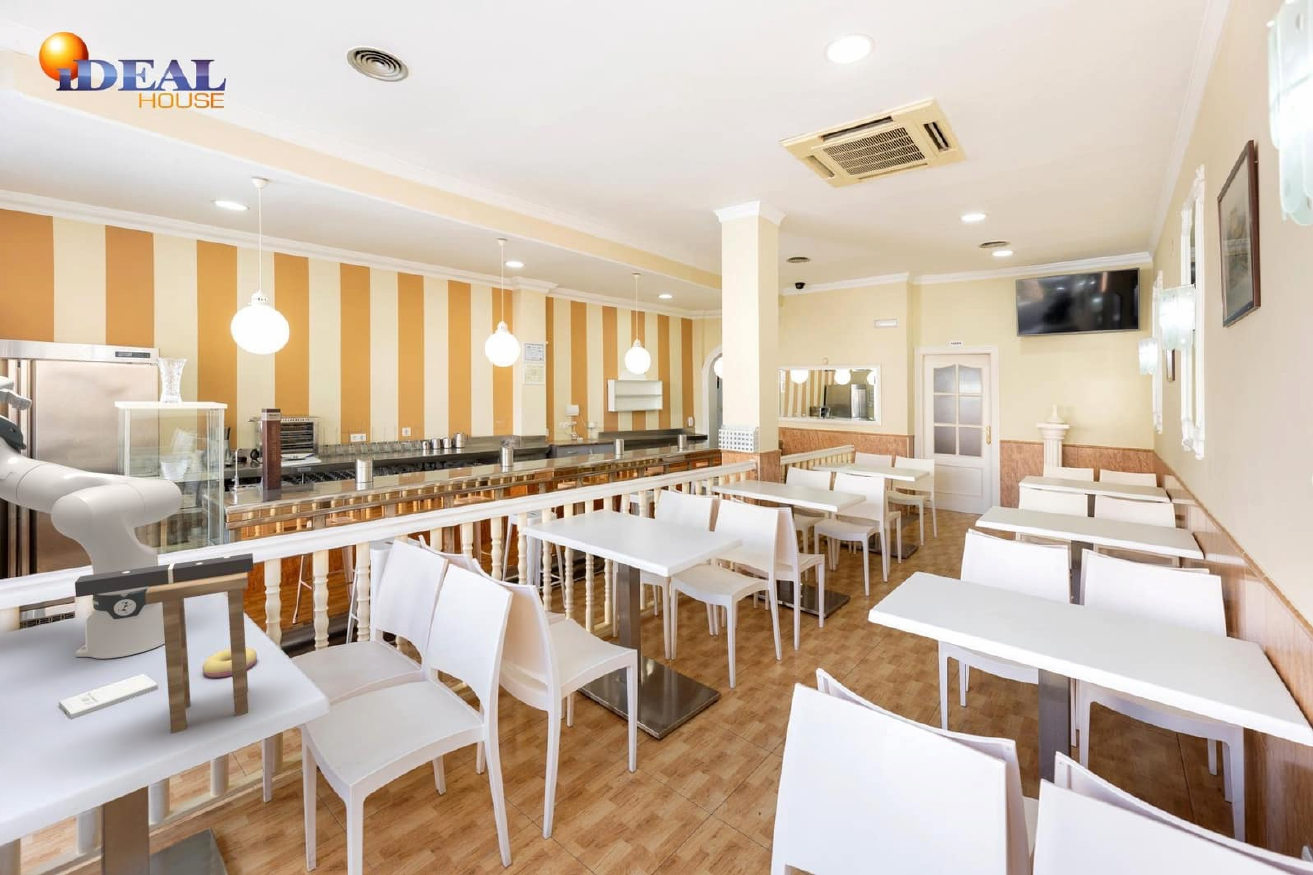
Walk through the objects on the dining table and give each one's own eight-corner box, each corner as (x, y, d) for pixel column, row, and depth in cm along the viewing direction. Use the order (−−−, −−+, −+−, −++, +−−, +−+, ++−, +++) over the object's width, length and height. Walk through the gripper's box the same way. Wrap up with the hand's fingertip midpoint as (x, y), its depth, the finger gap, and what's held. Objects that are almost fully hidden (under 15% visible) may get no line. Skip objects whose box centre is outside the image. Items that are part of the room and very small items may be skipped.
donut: (262, 666, 128) (216, 664, 126) (266, 645, 128) (220, 643, 126) (241, 681, 118) (190, 679, 116) (245, 658, 119) (194, 656, 116)
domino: (81, 590, 96) (80, 575, 96) (253, 565, 110) (252, 552, 110) (75, 597, 93) (74, 582, 93) (253, 571, 107) (252, 557, 107)
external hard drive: (158, 691, 113) (71, 721, 103) (143, 680, 118) (58, 708, 107) (157, 683, 113) (70, 713, 103) (143, 672, 118) (58, 699, 107)
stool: (163, 707, 107) (154, 574, 105) (253, 685, 115) (247, 561, 113) (155, 739, 97) (145, 593, 95) (254, 712, 105) (247, 577, 103)
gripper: (-56, 384, 99) (45, 412, 105) (-171, 415, 81) (-42, 448, 87) (-47, 352, 99) (54, 382, 104) (-161, 376, 80) (-31, 412, 86)
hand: (10, 412), depth 96 cm, fingers open, 8 cm apart
